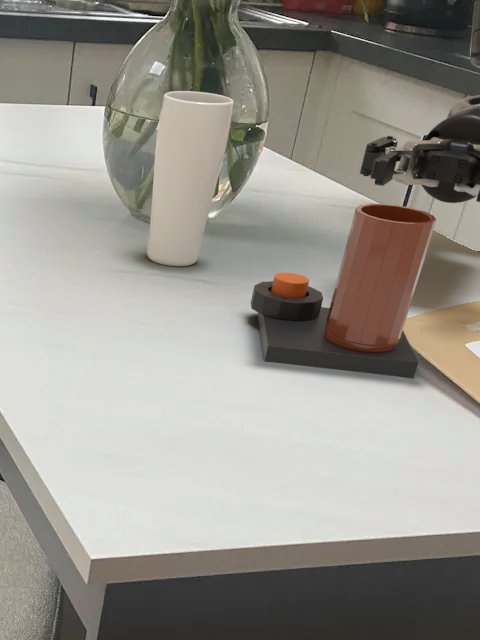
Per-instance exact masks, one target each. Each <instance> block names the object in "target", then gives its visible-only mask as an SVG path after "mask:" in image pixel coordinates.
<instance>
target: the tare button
mask: <svg viewBox="0 0 480 640" xmlns="http://www.w3.org/2000/svg"><path fill="white" fill-rule="evenodd" d="M272 281H273V284H272V289H271V293H273V294H275V295H279V296H283V297H287V298H305V296H306V292H307V288H308V286H309V285H310V284H309V283H310V279H309V278H308V277H307V276H305V275H302V274H298V273H294V272H293V273H292V272H278V273H275V274H274V276H273V280H272Z"/></svg>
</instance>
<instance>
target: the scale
mask: <svg viewBox="0 0 480 640" xmlns="http://www.w3.org/2000/svg"><path fill="white" fill-rule="evenodd" d="M272 284H273V280H271V281H261V282H258V283H256V284H255V285H254V286H253V291H252V295H251V299H250V308H251V310H253V311H254V312H257V314H256V315H257V322H258V329H259V334H260V335H259V336H260V341H261V348H262V354H263V360H264V362H267V363H278V364H285V365H286V364H287V365H295V366H302V367H312V368H320V369H330V370H337V371H338V370H339V371H348V372H355V373H366V374H374V375H381V376H391V377H392V376H393V377H400V378H401V377H402V378H408V379H414V378H415V375H416V372H417V369H418V365H419V361H418V358H417V356H416V355H415V352H414V351H413V348H412V346H411V344H410V342H409V340H408V338H407V335H406V333H405V331H404V329H403V330H402V334H401V337H400V339H399V341H398V345H397V347H396V348H395V349H393V350H391V351H387V352H363V351H357V350H352V349H348V348H344V347H341V346H338V345H336V344H334V343H332V342H330V341H329V340H327V339H326V338H325V336H324V331H325V325H326V321H327V317H328V313H329V309H330V307H323V306H322V305H323V301H324V296H323V293H322V292H321V291H319V290H318V289H316V288H314V287H313V286H309V285H308V288H307V292H306V296H305V298H287V297H283V296H279V295H275V294H273V293H271V289H272Z"/></svg>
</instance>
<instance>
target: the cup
mask: <svg viewBox="0 0 480 640" xmlns="http://www.w3.org/2000/svg"><path fill="white" fill-rule="evenodd" d="M353 213H354V214H353V218H352V221H351V226H350V229H349V233H348V237H347V241H346V244H345V249H344V252H343V257H342V259H341V264H340V268H339V271H338V275H337V279H336V283H335V287H334V290H333V294H332V298H331V302H330V306H329V308H330V309H329V313H328V317H327V321H326V325H325V331H324V336H325V338H326V339H327V340H329V341H330V342H332V343H334V344H336V345H338V346H341V347H344V348H348V349H352V350H357V351H363V352H387V351H391V350H393V349H395V348H396V347H397V345H398V341H399V339H400V337H401V334H402V330H403V331H404V328H405V324H406V320H407V317H408V314H409V310H410V307H411V304H412V301H413V299H414V298H413V297H414V295H415V291H416V287H417V284H418V282H419V278H420V275H421V271H422V268H423V265H424V261H425V258H426V256H427V253H428V248H429V245H430V242H431V238H432V236H433V232H434V229H435V225H436V222H437V218H436V217H435V216H434V215H433V214H431V213H429V212H427V211H425V210H422V209H421V210H420V209H417V208H414V207H410V206H404V205H399V204H398V205H397V204H389V203H366V204H360V205H358V206H357V207H355V210H354V212H353Z"/></svg>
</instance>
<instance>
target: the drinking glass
mask: <svg viewBox="0 0 480 640" xmlns="http://www.w3.org/2000/svg"><path fill="white" fill-rule="evenodd" d="M234 103H235V102H234V99H233V98H231V97H228V96H226V95H222V94H217V93H211V92H204V91H194V90H193V91H192V90H175V91H168V92H165V93H164V94H163V98H162V103H161V108H160V114H159V119H158V126H157V131H156V140H155V141H156V142H155V149H154V150H155V152H154V163H153V178H152V180H153V181H152V192H151V193H152V194H151V207H150V219H149V220H150V221H149V231H148V240H147V245H146V246H147V247H146V255H147V256H146V257H148V259H149V260H150V261H152V262H153V263H156V264H159V265H163V266H169V267H189V266H192V265H194V264H195V263H197V261H198V260H199V257H200V252H201V247H202V242H203V237H204V234H205V230H206V225H207V222H208V218H209V214H210V212H211V211H210V210H211V207H212V203H213V199H214V195H215V191H216V187H217V184H218V180H219V176H220V173H221V169H222V165H223V162H224V158H225V154H226V149H227V145H228V141H229V140H228V139H229V135H230V130H231V124H232V117H233V112H234V111H233V110H234Z"/></svg>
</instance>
